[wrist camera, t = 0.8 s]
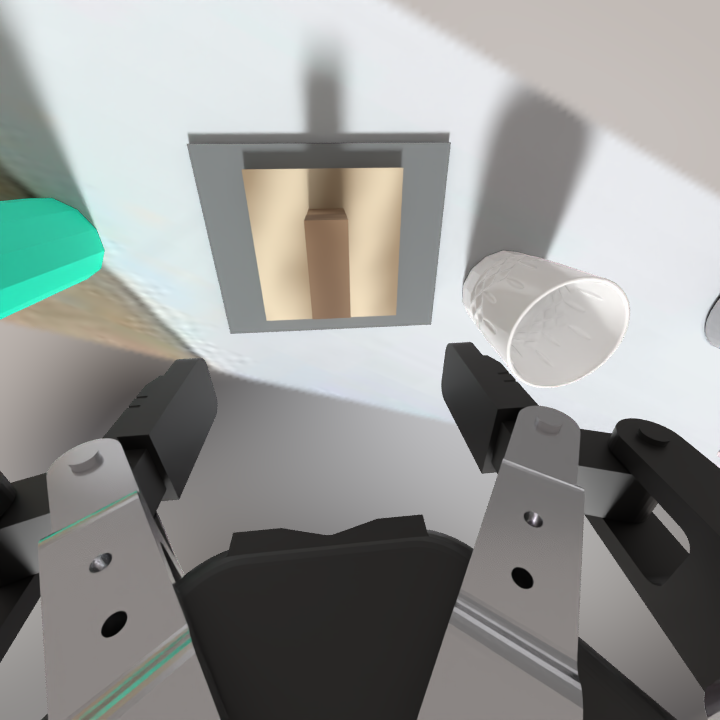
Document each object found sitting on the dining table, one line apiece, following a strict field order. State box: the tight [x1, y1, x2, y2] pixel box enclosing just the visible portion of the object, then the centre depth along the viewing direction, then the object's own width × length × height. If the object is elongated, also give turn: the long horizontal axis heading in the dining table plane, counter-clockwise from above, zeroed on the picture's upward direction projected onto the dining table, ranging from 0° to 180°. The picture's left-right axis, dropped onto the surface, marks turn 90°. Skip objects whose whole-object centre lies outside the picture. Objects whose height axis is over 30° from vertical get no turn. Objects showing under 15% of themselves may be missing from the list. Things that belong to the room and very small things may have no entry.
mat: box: [187, 142, 451, 334], centre depth 26 cm, size 18×14×1 cm
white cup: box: [462, 251, 630, 388], centre depth 25 cm, size 8×8×10 cm
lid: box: [242, 168, 403, 321], centre depth 23 cm, size 11×11×7 cm
